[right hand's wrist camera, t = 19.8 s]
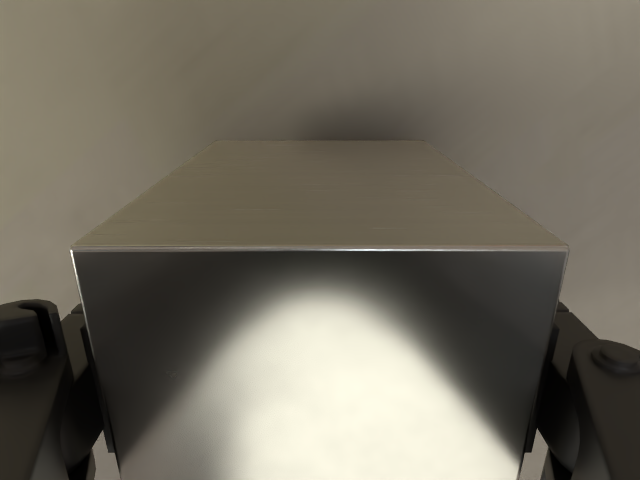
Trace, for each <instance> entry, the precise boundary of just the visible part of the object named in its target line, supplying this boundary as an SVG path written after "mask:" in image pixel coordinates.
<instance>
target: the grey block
mask: <svg viewBox="0 0 640 480" xmlns="http://www.w3.org/2000/svg"><path fill="white" fill-rule="evenodd" d="M568 255H569V246H568V245H567V244H566V243H565V242H563V241H562V240H560V239H559V238H558V237H556V236H555V235H554V234H552V233H551V232H549V231H548V230H547V229H545V228H544V227H543V226H541V225H540V224H538V223H537V222H536V221H534V220H533V219H532V218H530V217H529V216H527V215H526V214H525V213H523V212H522V211H520V210H519V209H518V208H516V207H515V206H514V205H512V204H511V203H509V202H508V201H507V200H505V199H504V198H503V197H501V196H500V195H498V194H497V193H496V192H494V191H493V190H492V189H490V188H489V187H487V186H486V185H485V184H483V183H482V182H481V181H479V180H478V179H476V178H475V177H474V176H472V175H471V174H470V173H468V172H467V171H465V170H464V169H463V168H461V167H460V166H459V165H457V164H456V163H454V162H453V161H452V160H450V159H449V158H448V157H446V156H445V155H443V154H442V153H441V152H439V151H438V150H437V149H435V148H434V147H432V146H431V145H430V144H428V143H427V142H426V141H424V140H326V141H214V142H213V143H212V144H210V145H209V146H207V147H206V148H205V149H203V150H202V151H200V152H199V153H198V154H196V155H195V156H194V157H192V158H191V159H189V160H188V161H187V162H185V163H184V164H183V165H181V166H180V167H178V168H177V169H176V170H174V171H173V172H172V173H170V174H169V175H167V176H166V177H165V178H163V179H162V180H161V181H159V182H158V183H156V184H155V185H154V186H152V187H151V188H150V189H148V190H147V191H145V192H144V193H143V194H141V195H140V196H139V197H137V198H136V199H134V200H133V201H132V202H130V203H129V204H128V205H126V206H125V207H123V208H122V209H121V210H119V211H118V212H117V213H115V214H114V215H112V216H111V217H110V218H108V219H107V220H106V221H104V222H103V223H101V224H100V225H99V226H97V227H96V228H95V229H93V230H92V231H90V232H89V233H88V234H86V235H85V236H84V237H82V238H81V239H79V240H78V241H77V242H75V243H74V244H73V245H71V247H70V256H71V260H72V264H73V269H74V273H75V278H76V282H77V287H78V291H79V296H80V300H81V304H82V309H83V313H84V318H85V322H86V327H87V331H88V336H89V340H90V344H91V349H92V353H93V358H94V362H95V367H96V371H97V375H98V380H99V384H100V389H101V393H102V398H103V402H104V407H105V411H106V415H107V420H108V424H109V429H110V433H111V438H112V442H113V447H114V451H115V455H116V460H117V464H118V469H119V473H120V478H121V480H519V476H520V472H521V467H522V463H523V458H524V454H525V449H526V445H527V440H528V436H529V431H530V427H531V422H532V418H533V413H534V409H535V404H536V400H537V395H538V391H539V386H540V382H541V377H542V373H543V368H544V364H545V359H546V355H547V350H548V346H549V341H550V337H551V332H552V328H553V323H554V319H555V314H556V310H557V305H558V300H559V296H560V291H561V287H562V282H563V278H564V273H565V269H566V264H567V260H568Z"/></svg>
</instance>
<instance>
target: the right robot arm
mask: <svg viewBox="0 0 640 480" xmlns="http://www.w3.org/2000/svg"><path fill="white" fill-rule="evenodd" d="M537 428H538V430H539V432H540V433H541V435H542V437H543V438H544V440H545V442H546V443H547V445H548V451H547V455H546V459H545V463H544V467H543V471H542V475H541V479H540V480H640V351H639V350H637V349H634V348H632V347H630V346H627V345H625V344H621V343H617V342H613V341H609V340H600V339H598V338H597V337H596V336H595V335H594V334H593V333H592V332H591V331H590V330H589V329H588V328H587V327H586V326H585V325H584V324H583V323H582V322H581V321H580V320H579V319H578V318H577V317H576V316H575V315H574V314H573V313H572V312H569V309H568V308H567V307H566V306H565V305H564V304H563V303H562V302H559V300H558V305H557V310H556V314H555V319H554V323H553V328H552V332H551V337H550V341H549V346H548V350H547V355H546V359H545V364H544V368H543V373H542V377H541V382H540V386H539V391H538V395H537V400H536V404H535V409H534V413H533V418H532V422H531V427H530V431H529V436H528V440H527V445H526V449H525V453H531V452H532V447H533V443H534V439H535V434H536V430H537ZM102 430H103V432H104V436H105V440H106V445H107V449H108V453H115V451H114V447H113V442H112V438H111V433H110V429H109V424H108V420H107V415H106V411H105V407H104V402H103V398H102V393H101V389H100V384H99V380H98V375H97V371H96V367H95V362H94V358H93V353H92V349H91V344H90V340H89V336H88V331H87V327H86V322H85V318H84V313H83V309H82V304H78V305H77V306H76V307H75V308H74V309H73V310H72V311H71V314H68V315H67V316H66V317H65V318H64V319H63V320H62V321H60V317H59V313H58V309H57V306H56V305H55V304H53V303H52V302H50V301H46V300H39V299H34V300H20V301H16V302H11V303H6V304H2V305H0V480H94V477H95V471H96V466H95V459H94V455H93V451H92V447H93V445H94V444H95V442H96V440H97V438H98V437H99V435H100V433H101V432H102Z"/></svg>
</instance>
